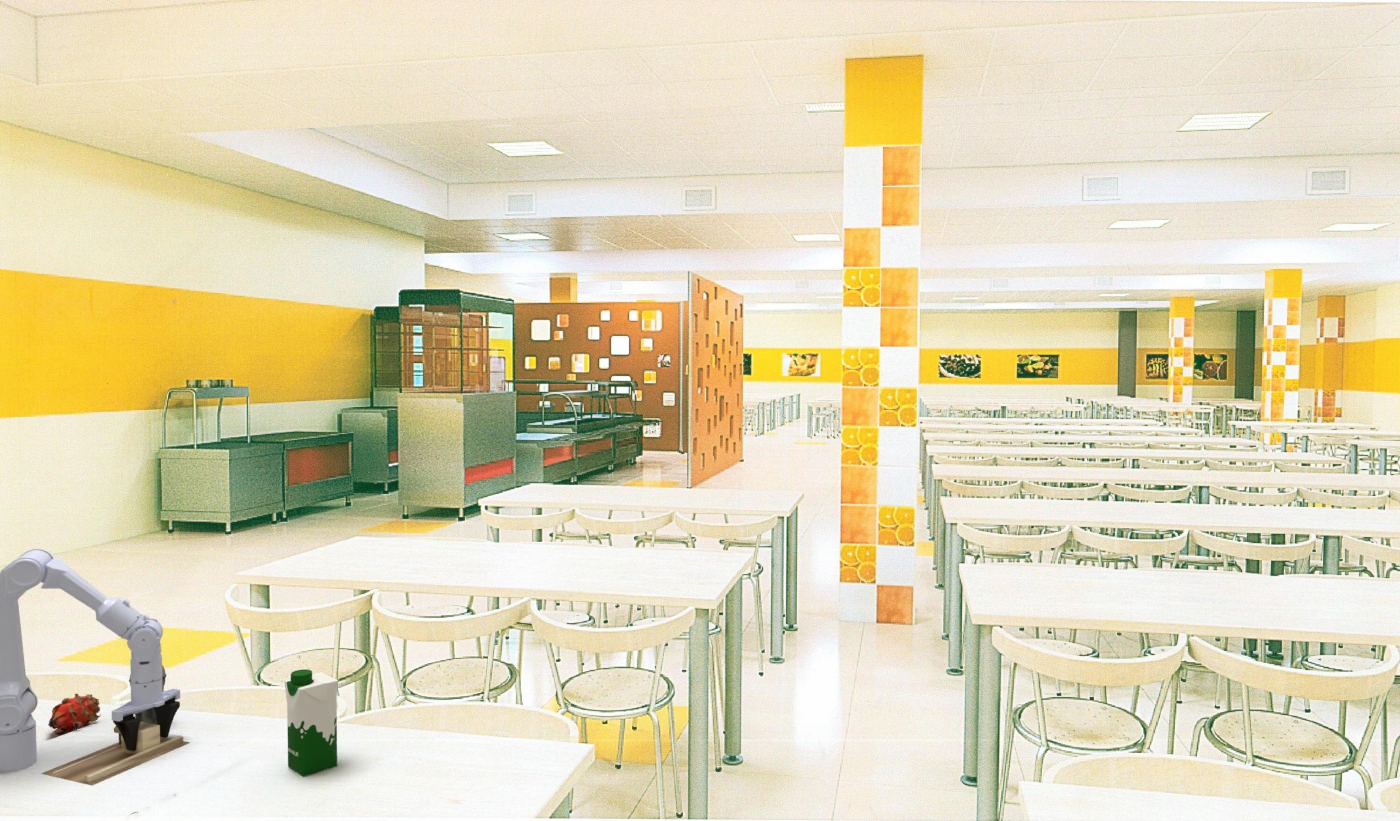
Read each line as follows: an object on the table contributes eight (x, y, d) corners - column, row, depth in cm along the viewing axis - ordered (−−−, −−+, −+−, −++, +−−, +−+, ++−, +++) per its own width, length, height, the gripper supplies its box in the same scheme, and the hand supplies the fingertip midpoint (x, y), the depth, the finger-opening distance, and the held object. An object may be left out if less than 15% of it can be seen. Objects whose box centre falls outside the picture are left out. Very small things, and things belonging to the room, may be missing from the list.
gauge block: (108, 748, 200) (108, 725, 200) (126, 741, 204) (125, 718, 204) (143, 755, 197) (142, 732, 197) (160, 748, 201) (159, 725, 200)
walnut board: (41, 780, 188) (41, 767, 188) (142, 739, 209) (141, 727, 209) (92, 792, 184) (92, 778, 183) (190, 749, 204) (190, 736, 204)
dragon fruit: (104, 726, 220) (56, 754, 209) (78, 702, 221) (28, 729, 210) (117, 701, 217) (68, 728, 206) (90, 677, 218) (40, 703, 207)
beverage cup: (174, 726, 216) (172, 639, 215) (140, 737, 210) (138, 647, 209) (156, 719, 220) (154, 633, 219) (123, 730, 214) (121, 641, 213)
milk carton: (281, 766, 196) (280, 670, 195) (324, 753, 203) (323, 660, 202) (300, 779, 190) (299, 680, 189) (344, 765, 197) (343, 669, 196)
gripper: (128, 692, 192) (130, 759, 193) (190, 671, 206) (191, 733, 207) (103, 687, 195) (104, 753, 196) (166, 666, 208) (167, 728, 209)
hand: (147, 742), depth 201 cm, fingers open, 7 cm apart
